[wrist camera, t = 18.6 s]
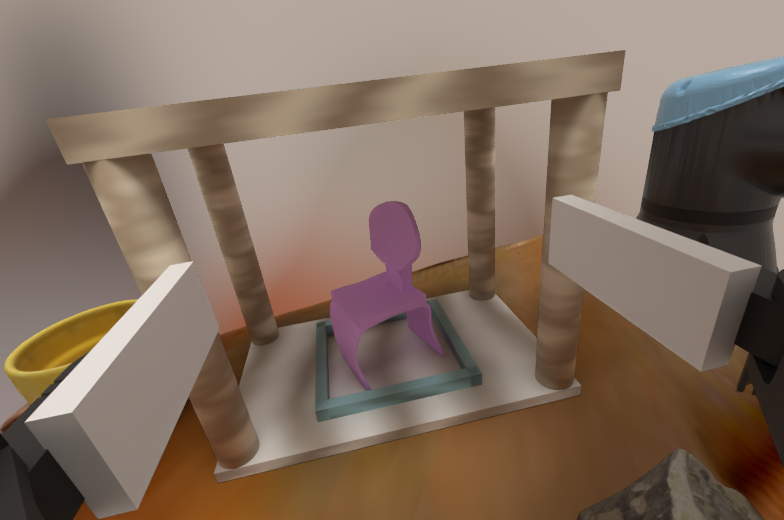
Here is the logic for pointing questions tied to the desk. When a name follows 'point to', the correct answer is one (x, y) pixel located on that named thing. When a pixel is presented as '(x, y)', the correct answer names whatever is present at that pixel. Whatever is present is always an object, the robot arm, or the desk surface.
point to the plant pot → (60, 348)
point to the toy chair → (384, 286)
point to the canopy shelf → (316, 338)
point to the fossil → (674, 495)
